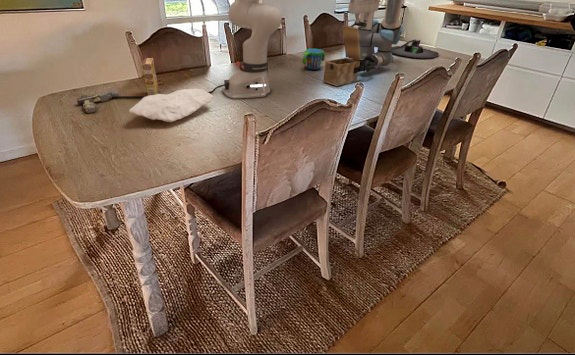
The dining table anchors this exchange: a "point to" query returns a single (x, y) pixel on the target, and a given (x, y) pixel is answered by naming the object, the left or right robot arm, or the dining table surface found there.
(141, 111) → the crumpled cloth
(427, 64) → the dining table surface
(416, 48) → the dark round disc
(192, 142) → the dining table surface
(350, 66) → the chest
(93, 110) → the handgun
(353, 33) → the lid
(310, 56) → the snack cup
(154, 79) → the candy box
